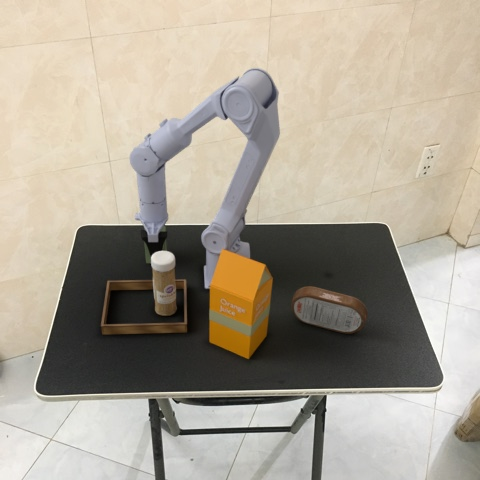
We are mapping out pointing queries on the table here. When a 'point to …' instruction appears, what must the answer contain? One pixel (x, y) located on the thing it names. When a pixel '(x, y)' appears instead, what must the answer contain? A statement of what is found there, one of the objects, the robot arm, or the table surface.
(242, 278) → the orange juice
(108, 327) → the wooden frame
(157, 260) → the sprinkles bottle
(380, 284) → the table surface
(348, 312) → the tin
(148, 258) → the block
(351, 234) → the table surface
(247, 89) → the robot arm
